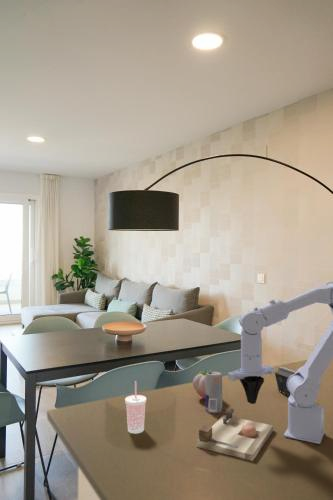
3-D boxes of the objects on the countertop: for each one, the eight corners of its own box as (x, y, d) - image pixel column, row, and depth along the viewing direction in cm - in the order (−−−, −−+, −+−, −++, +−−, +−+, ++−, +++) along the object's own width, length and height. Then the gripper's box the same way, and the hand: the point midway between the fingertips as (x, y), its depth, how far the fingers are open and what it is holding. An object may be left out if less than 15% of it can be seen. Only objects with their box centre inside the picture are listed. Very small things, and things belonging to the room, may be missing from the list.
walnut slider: (212, 436, 109) (212, 427, 109) (207, 441, 107) (207, 431, 106) (203, 434, 110) (203, 425, 110) (199, 439, 108) (199, 429, 108)
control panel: (273, 430, 117) (273, 420, 117) (252, 461, 100) (252, 449, 100) (223, 420, 124) (223, 410, 124) (196, 446, 107) (196, 436, 107)
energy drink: (211, 405, 135) (211, 369, 135) (225, 409, 132) (225, 372, 132) (202, 410, 131) (202, 373, 131) (216, 415, 128) (216, 376, 128)
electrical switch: (304, 397, 143) (303, 371, 142) (294, 401, 140) (292, 375, 140) (284, 389, 151) (282, 364, 151) (274, 393, 148) (272, 368, 148)
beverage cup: (137, 423, 122) (136, 376, 122) (150, 430, 117) (150, 381, 117) (120, 429, 118) (120, 381, 117) (134, 436, 113) (134, 386, 113)
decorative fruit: (224, 400, 140) (224, 371, 140) (206, 405, 135) (206, 375, 135) (207, 392, 148) (207, 364, 148) (188, 397, 143) (188, 368, 143)
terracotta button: (257, 437, 113) (257, 426, 113) (253, 442, 109) (253, 431, 109) (244, 434, 114) (244, 423, 114) (240, 439, 111) (240, 428, 111)
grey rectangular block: (230, 417, 121) (234, 409, 121) (227, 420, 119) (230, 413, 118) (228, 415, 122) (232, 408, 121) (224, 419, 119) (228, 411, 119)
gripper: (238, 361, 108) (239, 412, 108) (281, 354, 115) (281, 402, 115) (223, 354, 115) (223, 403, 115) (264, 348, 121) (264, 394, 121)
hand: (251, 402), depth 115 cm, fingers closed
